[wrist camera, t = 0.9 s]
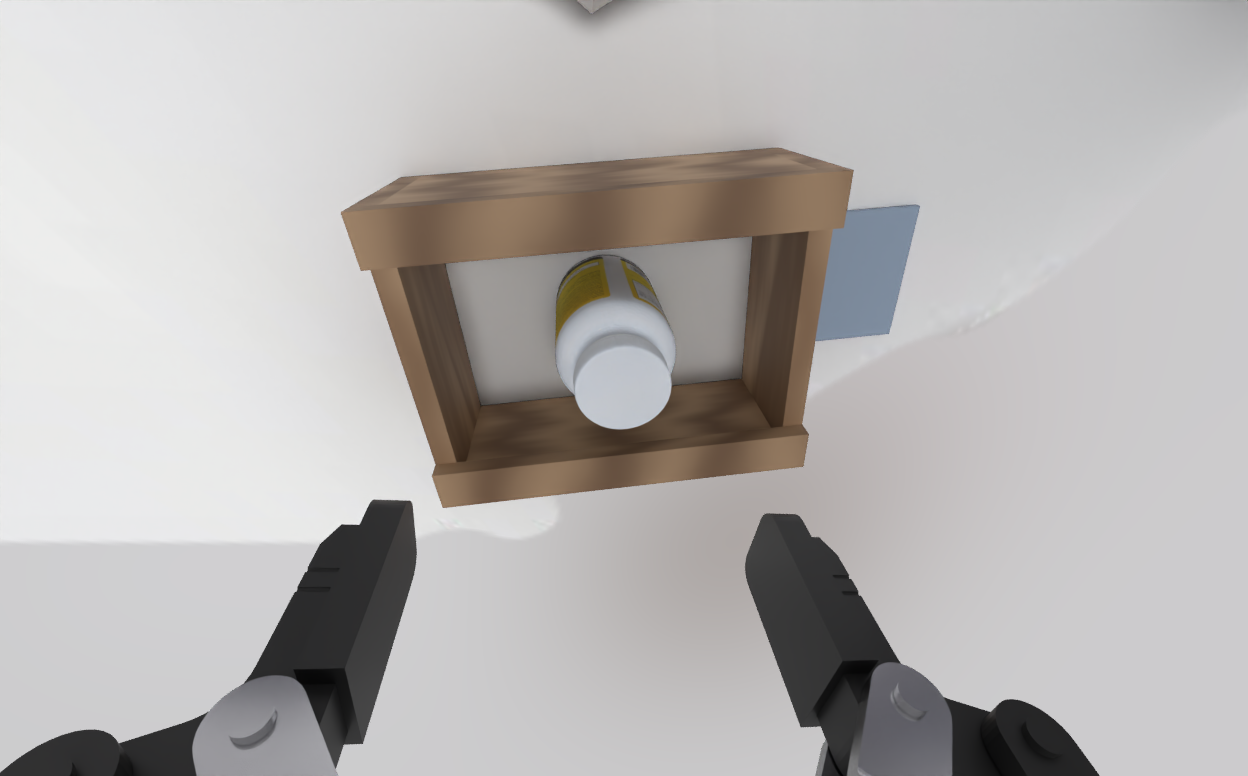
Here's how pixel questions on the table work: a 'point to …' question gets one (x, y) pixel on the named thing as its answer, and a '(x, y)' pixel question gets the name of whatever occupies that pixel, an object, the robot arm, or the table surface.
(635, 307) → the pill bottle
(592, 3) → the die
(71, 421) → the table surface
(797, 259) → the crate
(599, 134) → the table surface
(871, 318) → the pad
